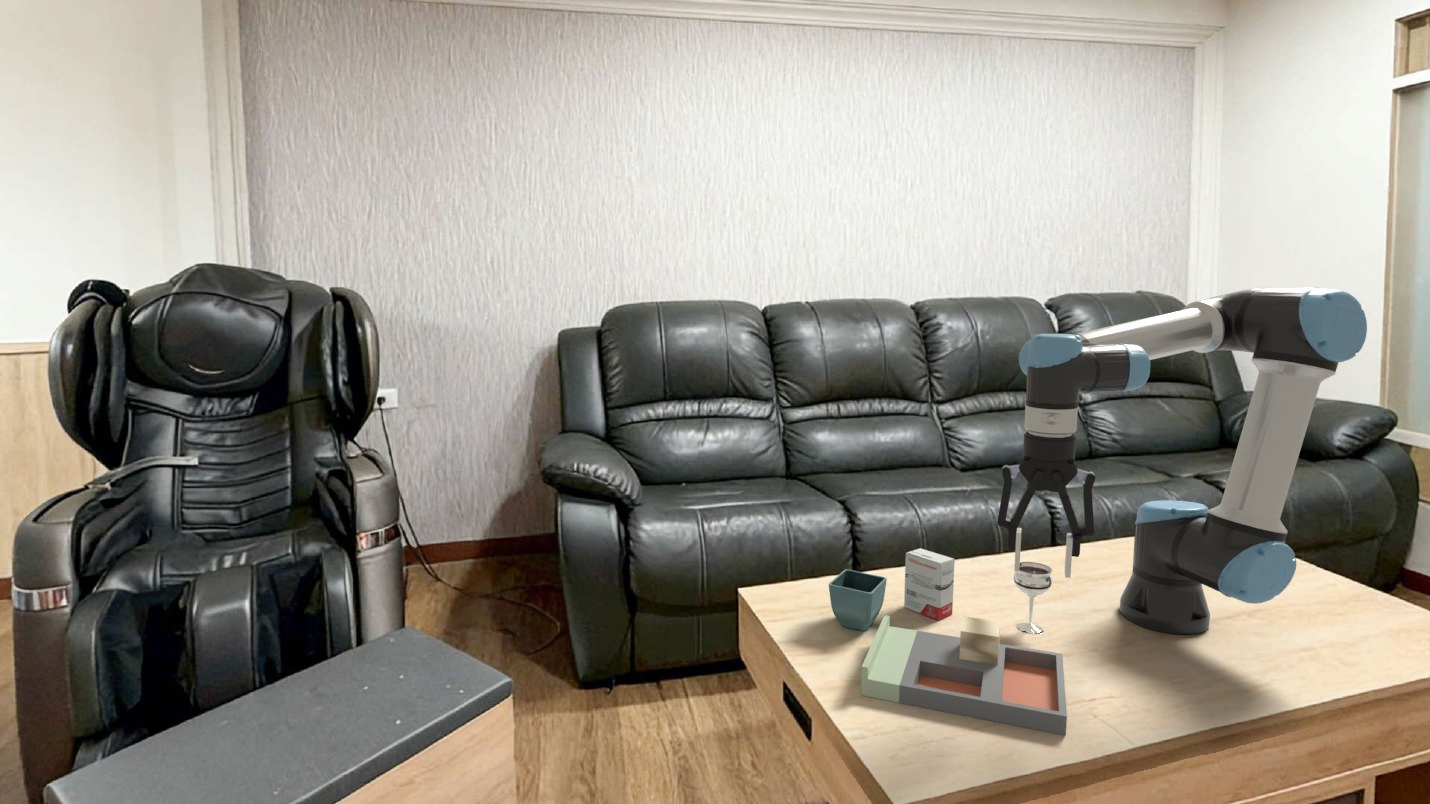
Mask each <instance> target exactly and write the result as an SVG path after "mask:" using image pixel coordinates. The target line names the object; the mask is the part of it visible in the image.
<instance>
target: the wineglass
mask: <svg viewBox="0 0 1430 804" xmlns="http://www.w3.org/2000/svg"><path fill="white" fill-rule="evenodd" d="M1013 567H1015V564H1014V566H1013ZM1052 573H1053V569H1052V567H1050V565H1046V564H1043V563H1040V562H1035V561H1020V568H1019V572H1018V571H1014V573H1013V581H1014V584H1015V586H1016V587H1017V588H1018V590H1020V592H1022V593H1024V594H1026V595H1027V597H1028V598H1029V603H1028V604H1029V607H1028V608H1029V610H1028V611H1029V614H1028V621H1022V623H1021V622H1018V623H1019V624H1018V623H1017V624H1016V625H1015V628H1016V629H1017V628H1019V629H1020V630H1019V629H1018V630H1019V631H1020V632H1022V631H1026V632H1029V633H1030V635H1031V634H1032V635H1039V634H1038V633H1040V632H1041V631H1044V632H1045V629H1044V630H1043V629H1042V628H1044V627H1043V626H1042V627H1041V625H1040V626H1039V623H1038V624H1037V623H1034V622H1032V620H1033V611H1034V600H1035V598H1036V597H1037V596H1042V595H1044V594H1045V593H1046V592H1048V591H1049V590H1050V588H1051V587H1052V584H1053V578H1052ZM1016 626H1017V627H1016ZM1029 633H1028V634H1029ZM1035 633H1037V634H1035ZM1040 634H1041V633H1040Z"/></svg>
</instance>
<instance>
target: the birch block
mask: <svg viewBox="0 0 1430 804" xmlns="http://www.w3.org/2000/svg"><path fill="white" fill-rule="evenodd" d="M1000 635H1001V621H1000V620H999V621H998V620H992V619H985V618H979V617H970V616H963V618H962V623H961V627H960V636H959V637H960V657H959V659H963V660H969V661H975V662H981V663H987V664H993V665H998V654H999V644H1000V638H1001V637H1000Z"/></svg>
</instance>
